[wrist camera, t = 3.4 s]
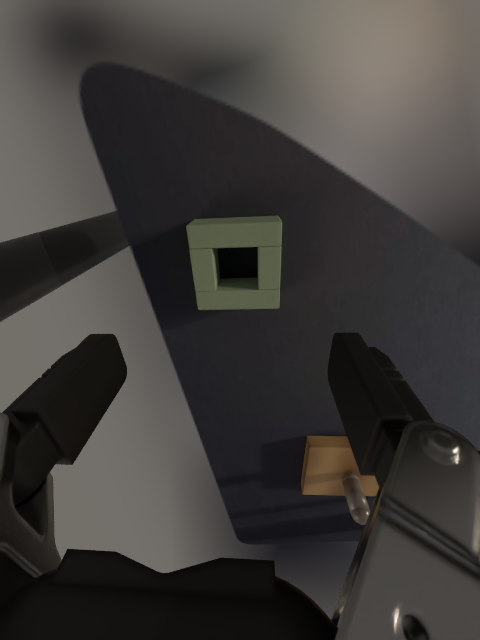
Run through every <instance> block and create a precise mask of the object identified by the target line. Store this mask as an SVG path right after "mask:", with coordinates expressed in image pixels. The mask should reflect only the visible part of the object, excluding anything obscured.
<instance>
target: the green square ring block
mask: <svg viewBox="0 0 480 640" xmlns="http://www.w3.org/2000/svg"><path fill="white" fill-rule="evenodd" d="M186 229H187V236H188V243H189V248H190V250H189V251H190V258H191V265H192V272H193V279H194V285H195V291H196V299H197V306H198V310H224V309H276V308H279V300H280V271H281V242H282V221H281V220H280V218H279V216H257V217H233V218H210V219H194V220H193V221H192V222H190V223H189V224H188V225H187V226H186ZM238 247H258V277H256V278H220V271H219V260H218V249H217V248H238Z"/></svg>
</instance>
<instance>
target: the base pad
mask: <svg viewBox="0 0 480 640" xmlns="http://www.w3.org/2000/svg"><path fill="white" fill-rule="evenodd" d="M301 486H302V493H303V494H307V495H346V499H347V502H348V506H349V509H350V513H351V516H352V518H353V519H354V520H355V521H356V522H357V523H359V524H362V525H365V524H366V522H367V519H368V516H369V513H370V509H369V506H368V503H367V500H366V497H365V496H376V494H377V491H378V489H379V486H378V483H377V481H376V478H375V476H365V475H360V472H359V469H358V467H357V464H356V461H355V458H354V455H353V452H352V449H351V446H350V443H349V440H348V437H347V436H307V442H306V449H305V456H304V464H303V471H302V479H301Z"/></svg>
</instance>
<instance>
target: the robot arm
mask: <svg viewBox="0 0 480 640" xmlns="http://www.w3.org/2000/svg"><path fill="white" fill-rule="evenodd" d="M396 369H397V368H396V367H395V365H394V364H393V363H392V361H391V360H390V358H389V357H388V356H387V355H385V354H384V353H382V352H381V351H380V350H378V349H377V348H376V347H368V346H367V345H366V343H365V342H364V340H363V339H362V337H361V335H360V334H359V333H335V334H334V336H333V340H332V346H331V352H330V358H329V364H328V380H329V385H330V388H331V390H332V393H333V396H334V399H335V402H336V405H337V408H338V411H339V414H340V417H341V420H342V423H343V426H344V428H345V431H346V434H347V437H348V440H349V443H350V446H351V449H352V452H353V455H354V458H355V461H356V464H357V467H358V469H359V472H360V475H365V476H375V478H376V481H377V483H378V486H379V489H378V491H377V494H376V497H375V499H374V502H373V505H372V508H371V511H370V513H369V516H368V519H367V522H366V525H365V527H364V530H363V533H362V536H361V538H360V541H359V544H358V547H357V550H356V553H355V555H354V558H353V561H352V563H351V566H350V568H349V571H348V573H347V576H346V579H345V581H344V584H343V586H342V589H341V592H340V595H339V598H338V600H337V603H336V606H335V608H334V611H333V614H332V617H331V620H330V618H329V617H328V616H327V615H326V613H325V612H324V611H323V610H322V609H321V608H320V607H319V606H318V605H317V604H316V603H315V602H314V601H313V600H312V599H311V598H309V597H308V596H307V595H306V594H305V593H303V592H302V591H301V590H300V589H298V588H297V587H295V586H293V585H292V584H290V583H289V582H287V581H285V580H283V579H280V578H278V577H276V576H275V567H274V561H269V560H252V559H234V558H218V559H215V560H212V561H208V562H205V563H201V564H198V565H195V566H191V567H187V568H184V569H180V570H177V571H173V572H170V573H160V572H157V571H155V570H153V569H151V568H149V567H147V566H145V565H143V564H140V563H138V562H136V561H134V560H132V559H130V558H128V557H126V556H124V555H121V554H120V553H118V552H112V551H95V550H77V549H67V551H66V553H65V555H64V557H63V559H62V561H61V558H60V555H59V553H58V551H57V548H56V545H55V538H54V501H53V477H52V475H51V473H50V471H51V469H52V468H53V467H54V465H55V464H65V465H72V464H73V463H74V461H75V460H76V458H77V457H78V455H79V454H80V452H81V450H82V449H83V447H84V446H85V444H86V442H87V441H88V439H89V438H90V436H91V434H92V433H93V431H94V430H95V428H96V426H97V425H98V423H99V421H100V420H101V419H102V417H103V415H104V414H105V412H106V411H107V409H108V407H109V406H110V404H111V403H112V401H113V399H114V398H115V396H116V395H117V393H118V392H119V390H120V388H121V387H122V385H123V383H124V382H125V379H126V376H127V367H126V364H125V361H124V358H123V355H122V352H121V349H120V346H119V343H118V340H117V338H116V337H115V335H113V334H90V335H89V336H88V337H86V338H85V339H84V340H83V341H82V342H81V343H80V344H79V345H78V346H77V347H76V348H75V349H73V350H71V351H70V352H68V353H66V354H65V355H63V356H62V357H61V358H59V359H58V360H57V361H56V362H55V363H54V364H53V365H52V366H51V369H48V370H47V371H46V372H45V373H44V374H42V377H41V378H38V379H37V380H36V381H35V382H34V383H33V384H32V385H31V386H30V387H29V388H28V389H27V390H26V391H24V392H23V393H22V394H21V395H20V396H19V397H18V398H17V399H16V400H15V401H14V402H13V403H12V404H11V405H10V406H9V407H8V408H7V409H6V410H4V411H3V412H2V413H0V640H480V561H479V554H480V451H477V450H476V449H475V447H474V446H473V445H472V444H471V443H470V442H469V441H468V440H467V439H466V438H465V437H464V436H462V435H461V434H460V433H458V432H457V431H455V430H453V429H452V428H450V427H448V426H446V425H443V424H441V423H438V422H434V420H433V419H432V418H431V416H430V415H429V413H428V412H427V410H426V409H425V408H424V406H423V405H422V403H421V402H420V401H419V399H418V398H417V396H416V395H415V394H414V392H413V391H412V389H411V388H410V387H409V385H408V384H407V382H406V381H404V380H403V379H404V378H403V377H402V375H401V374H400V373H399V371H397V370H396Z"/></svg>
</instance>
